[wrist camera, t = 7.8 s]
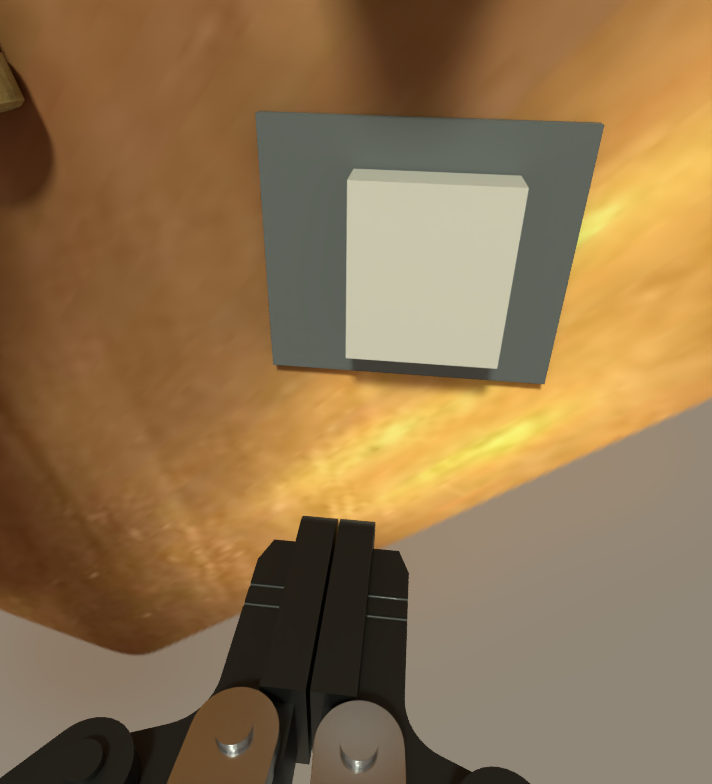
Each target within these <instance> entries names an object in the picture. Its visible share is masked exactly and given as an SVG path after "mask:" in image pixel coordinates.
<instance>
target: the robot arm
mask: <svg viewBox="0 0 712 784" xmlns="http://www.w3.org/2000/svg"><path fill="white" fill-rule="evenodd" d="M374 540H375V522H368V521H357V520H346V519H340V522H339V523H338V519H333V518H322V517H311V516H303V517H302V519H301V522H300V526H299V530H298V534H297V538H296V542H294V541H284V540H274V541H273V542H272V543H271V544H270V546H269V547H268V548H267V549H266V550H265V551H264V553H263V554H262V555H261V556H260V557H259V558H258V561H257V564H256V567H255V570H254V574H253V577H252V580H251V586H250V587H249V589H248V593H247V596H246V599H245V605H244V606H243V609H242V612H241V615H240V618H239V621H238V624H237V628H236V631H235V634H234V637H233V640H232V644H231V647H230V650H229V653H228V656H227V659H226V663H225V666H224V669H223V672H222V675H221V678H220V681H219V684H218V686H217V687H216V689H215V691H214V693H213V694H212V695H211V697H210V698H209V699H208V701H206V702H205V703H204V704H203V705H202V707H200V708H199V709H198V710H197V711H195V712H194V713H192V714H191V715H189V716H188V717H186V718H184V719H181V720H179V721H177V722H173V723H170V724H166V725H162V726H157V727H153V728H148V729H144V730H140V731H135V732H131V733H130V732H129V731H128V729H127V728H126V727H125V726H124V725H123V724H122V723H120V722H119V721H117V720H114V719H112V718H106V717H96V718H90V719H87V720H84V721H81V722H78V723H76V724H74V725H72V726H71V727H69V728H68V729H66V730H65V731H63V732H62V733H61V734H59V735H58V736H56V737H55V738H54V739H52V740H51V741H50V742H49V743H47V744H46V745H44V746H43V747H42V748H40V749H39V750H38V751H36V752H35V753H33V754H32V755H31V756H29V757H28V758H27V759H26V760H24V761H23V762H21V763H20V764H19V765H17V766H16V767H15V768H13V769H12V770H11V771H9V772H8V773H6V774H5V775H4V776H2V777H1V778H0V784H292V780H293V775H294V769H295V763H302V764H309V763H310V757H311V750H313V758H312V770H311V781H310V782H311V783H310V784H530V783H529V782H528V781H526V780H525V779H524V778H523V777H521V776H519V775H518V774H516V773H515V772H512V771H510V770H508V769H504V768H500V767H485V768H480V769H478V770H475V771H473V772H471V771H469V770H467V769H465V768H463V767H461V766H459V765H457V764H455V763H453V762H451V761H449V760H447V759H445V758H444V757H441V756H440V755H438V754H436V753H435V752H433V751H432V750H431V749H429V748H428V747H427V746H426V745H425V744H424V743H423V742H422V741H421V740H420V739H419V738H418V736H417V735H416V734H415V732H414V731H413V729H412V727H411V725H410V723H409V720H408V717H407V714H406V709H405V669H406V639H407V608H408V578H409V577H408V576H409V573H408V571H407V568H406V566H405V564H404V562H403V559H402V557H401V555H400V552H399V551H391V550H381V549H374Z"/></svg>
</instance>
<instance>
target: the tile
mask: <svg viewBox="0 0 712 784" xmlns="http://www.w3.org/2000/svg"><path fill="white" fill-rule="evenodd" d="M528 190H529V187H528V186H527V184H526V182H525V181H524V179H523V178H522V176H519V175H495V174H471V173H447V172H423V171H400V170H376V169H353V171H352V172H351V174H350V176H349V178H348V179H347V254H346V358H351V359H365V360H379V361H393V362H408V363H422V364H436V365H450V366H464V367H479V368H493V369H497V367H498V361H499V356H500V350H501V344H502V339H503V333H504V327H505V322H506V316H507V310H508V304H509V299H510V293H511V287H512V282H513V276H514V270H515V264H516V259H517V253H518V247H519V242H520V236H521V230H522V225H523V219H524V213H525V207H526V202H527V196H528Z"/></svg>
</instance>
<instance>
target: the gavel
mask: <svg viewBox="0 0 712 784" xmlns="http://www.w3.org/2000/svg"><path fill="white" fill-rule="evenodd" d="M24 101H25V99H24V97H23V95H22V93H21V91H20V89H19V87H18V84H17V82H16V80H15V78H14V76H13V74H12V72H11V70H10V68H9V65H8V63H7V61H6V59H5V57H4V55H3V53H2V52H0V113H2V112H5V111H9V110H12V109H15V108H18V107H20V106H21V105H22V104H23V102H24Z"/></svg>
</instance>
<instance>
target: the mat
mask: <svg viewBox="0 0 712 784" xmlns="http://www.w3.org/2000/svg"><path fill="white" fill-rule="evenodd" d="M255 114H256V129H257V143H258V157H259V171H260V185H261V199H262V213H263V227H264V241H265V256H266V270H267V284H268V298H269V312H270V326H271V340H272V354H273V365H286V366H300V367H313V368H327V369H341V370H355V371H369V372H383V373H396V374H410V375H424V376H438V377H452V378H466V379H480V380H493V381H507V382H521V383H535V384H545V379H546V375H547V371H548V366H549V362H550V358H551V353H552V349H553V345H554V340H555V336H556V332H557V327H558V323H559V319H560V314H561V310H562V306H563V301H564V297H565V293H566V288H567V284H568V280H569V275H570V271H571V267H572V262H573V258H574V254H575V249H576V245H577V241H578V236H579V232H580V228H581V223H582V219H583V215H584V210H585V206H586V202H587V197H588V193H589V189H590V184H591V180H592V176H593V171H594V167H595V163H596V158H597V154H598V150H599V145H600V141H601V137H602V133H603V128H604V124H602V123H594V122H565V121H535V120H505V119H475V118H446V117H416V116H386V115H357V114H327V113H297V112H268V111H258V112H256V113H255ZM353 169H376V170H400V171H423V172H447V173H471V174H495V175H519V176H522V178H523V179H524V181H525V182H526V184H527V186H528V187H529V190H528V196H527V202H526V207H525V213H524V219H523V225H522V230H521V236H520V242H519V247H518V253H517V259H516V264H515V270H514V276H513V282H512V287H511V293H510V299H509V304H508V310H507V316H506V322H505V327H504V333H503V339H502V344H501V350H500V356H499V361H498V367H497V369H493V368H479V367H464V366H450V365H436V364H422V363H408V362H393V361H379V360H365V359H351V358H346V254H347V179H348V178H349V176H350V174H351V172H352V171H353Z"/></svg>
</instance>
